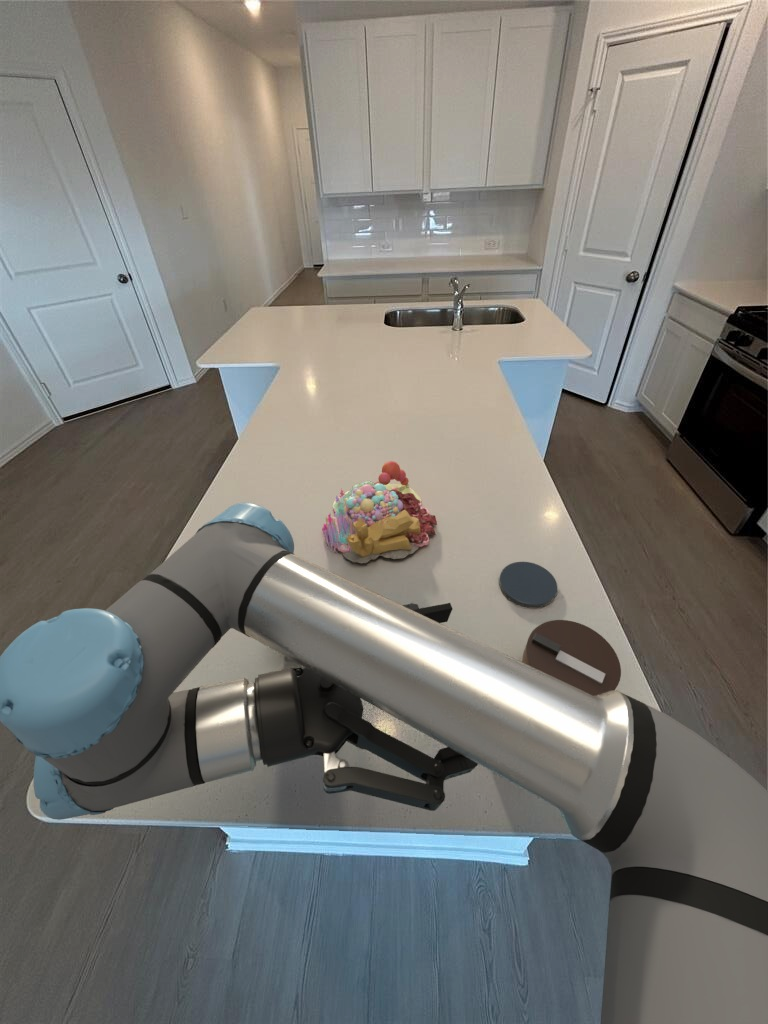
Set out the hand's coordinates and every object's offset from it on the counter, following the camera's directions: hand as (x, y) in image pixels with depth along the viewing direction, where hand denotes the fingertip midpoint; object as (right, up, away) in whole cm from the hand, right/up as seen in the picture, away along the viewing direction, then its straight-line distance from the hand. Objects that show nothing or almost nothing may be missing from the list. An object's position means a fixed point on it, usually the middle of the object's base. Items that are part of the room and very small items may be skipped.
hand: (473, 669), depth 44 cm
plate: (+17, +3, +35) cm, 39 cm away
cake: (+17, -10, +20) cm, 28 cm away
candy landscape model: (-11, +13, +49) cm, 52 cm away
